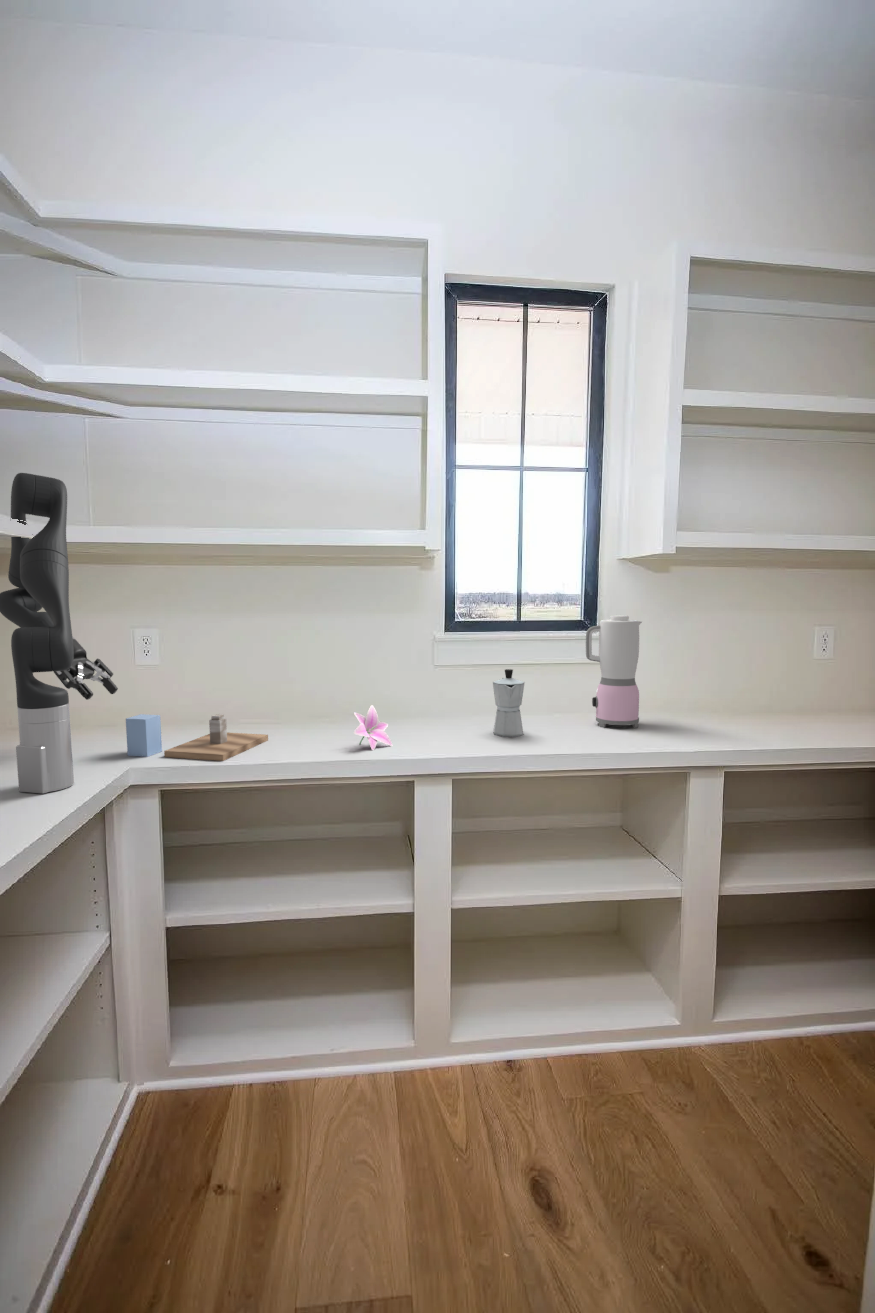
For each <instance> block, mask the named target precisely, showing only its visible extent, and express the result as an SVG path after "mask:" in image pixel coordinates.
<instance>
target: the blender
mask: <svg viewBox="0 0 875 1313" xmlns="http://www.w3.org/2000/svg"><path fill="white" fill-rule="evenodd" d="M629 618H630V617H629V615H621V614H620V615H617V614H616V615H610V618H609V619H602V620H600V621H599V625H593V626H590V627H589V628H588V629H587V630H586V633H585V656H586V659H587V660H589V661H590V662H591V661H592V662H599V668H600V675H601V676H600V681H599V683H598V685H597V688H596V691H595V693H596V695H595V696H593V697H592V698H591V699H592V700H591V702H592V703H591V704H592V707H595V721H596V722H597V723H598V725H599V728H606V725H610V726H611V725H612V726H631V725H632V728H633V729H636V728H638V726H639V723H640V717H639V714H640V713H639V711H640V710H639V709H640V690H639V688H638V685H637V682H636V672H637V669H638V668H637V667H638V662H639V661H638V660H639V654H640V653H639V652H640V625H641V624H642V622H643V621H639V620H635V619H629ZM597 632H598V655H595V654H593V652H592V650H593V649H592V645H593V644H592V643H593V642H592V640H593V637H592V636H593V633H597Z"/></svg>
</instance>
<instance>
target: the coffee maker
mask: <svg viewBox="0 0 875 1313" xmlns="http://www.w3.org/2000/svg"><path fill="white" fill-rule="evenodd" d="M513 673H514V669H511V668H509V669H508V668H507V669H504V675H505V677H502V678H501V679H497V680H494V681H492V687H493V688H492V689H493V695H494V702H495V706H496V707H497V708H496V710H495V711H496V712H495V719H494V725H493V731H492V732H493V735H494V736H499V737H503V738H509V737H510V738H512V737H513V738H516V737H519V736H523V735H524V728H523V721H522V715H521V709H520V706H521V705H522V703H523V695H524V689H525V683H526V682H525V681H523V680H519V679H516V678H513Z"/></svg>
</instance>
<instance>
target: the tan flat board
mask: <svg viewBox="0 0 875 1313" xmlns="http://www.w3.org/2000/svg"><path fill="white" fill-rule="evenodd" d="M208 721H209V722H208V724H209V733H208V734H205V735H203V736H200V737H197V738H194V739H192V740H190V741H187V742H184V743H182V744H178V745H176V746H173V747H171V748H169V749H166V750H164V752H163V754H164V758H174V759H175V758H176V759H188V760H189V759H191V760H201V761H202V760H204V761H205V760H206V761H217V762H224V761H226V760H228V759H231V758H232V757H235V756H237V755H240V754H241V753H244V752H246V751H248V750H250V749H252V748H254V747H256V746H259V745H261V744H263V743H266V742H268V741H269V734H262V733H261V734H260V733H242V732H228V730H227V728H228V725H227V718H226V717H225V714H213V715H211V719H209V720H208Z"/></svg>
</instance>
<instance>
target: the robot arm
mask: <svg viewBox="0 0 875 1313" xmlns="http://www.w3.org/2000/svg"><path fill="white" fill-rule="evenodd" d="M67 491H68V488H67V486H66V484H65V483H64V482H63V481H62V480H60V479H59V478H54V477H50V476H44V475H39V474H34V473H33V474H32V473H27V472H18V473H17V474H15V476H14V478H13V481H12V484H11V492H10V493H11V494H10V519H11V518H12V519H18V520H19V521H17V522H19V523H22V524H24V525H26V524H27V525H28V522H27V515H28V516H29V515H31V516H36V517H42V518H49V519H48V521H47V523H46V524H45V526H44V527H43V528H42V529H41V530H40V531H38V532H37V533H36V534H35V535H33V536H34V537H33V538H32V539H29V538H21V537H11V536H10V539H11V540H10V541H11V546H10V548H11V550H10V559H9V565H8V566H9V567H8V574H7V576H8V577H7V578H8V580H9V583H10V584H11V585H12V586H14V587H16V588H13V589H8V590H5V591H1V592H0V613H1V615H2V616H3V617H4V618H6V619H7V620H8V621H9V622H11V623H13V624H14V625H16V626H17V627H18V628H15V629H14V630H13V632H12V634H11V639H10V644H11V645H10V646H11V649H10V650H11V655H12V656H11V657H12V662H13V663H12V664H13V670H14V671H13V672H14V678H15V679H14V680H15V689H16V690H15V691H16V703H17V704H16V706H17V721H18V724H17V725H18V734H19V735H18V737H19V744H18V745H17V744H16V746H15V753H16V766H17V779H18V780H17V781H18V792H21V793H31V794H46V793H49V792H55V791H61V790H64V789H67V788H69V787H72V786H73V785H74V784H75V779H74V778H75V777H74V764H73V763H74V760H73V748H72V747H73V745H72V729H71V717H70V716H71V715H70V703H69V702H70V700H69V692H68V690H70V689H73V690H75V691H77V692H78V693H79V694H80V695H81V696H82V697H83V698H84V699H85V700H91V698H92V697H93V696H94V692H93V691H92V690H91V688H89V686H87V685H86V683H85V682H84V680H91V681H93V682H95V681H96V682H98V683H100V684H102V686H103V687H104V688H105V689H106V691H107V692H108V693H109V694H110V695H114V694H115V693H116V692H118V689H119V688H118V686H117V685H116V684H115V682H114V681H112V679H111V678H112V677H113V676H114V672H112V670H111V669H110V668H109V667H108V666H106V664H105V663H104V662H103V661H102V660H101V659H100V658H96V659H95V660H93V661H92V660H90V659H89V658H88V657H87V654H88V653H87V650H86V649H85V648H84V647H83V646H82V645H81V643H79V641H78V640H77V639H76V638H75V637H74V636H73V630H72V623H71V622H72V621H71V614H70V612H71V611H70V601H69V600H70V599H69V598H70V597H69V596H70V594H69V592H70V591H69V590H70V589H69V588H70V582H69V581H70V578H69V577H70V576H69V575H70V574H69V573H70V572H69V570H70V569H69V567H70V566H69V556H68V555H69V554H68V545H67V544H68V541H67V520H68V519H67V517H68V516H67V515H68V492H67ZM20 520H23V521H20ZM24 521H26V522H27V523H26V522H24ZM42 609H43V610H44V611H41V610H42ZM50 672H53V674H55V676H56V678H58V680H59V681H60V682H61V684H62V685H63V686H64V687H65V688H66V689H65V688H63V687H60V686H55V685H51V684H47V683H44V682H43V681H41V680H39V679H37V678H36V677H35V676H34V673H50ZM95 672H96V673H95ZM67 680H68V681H67Z"/></svg>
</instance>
